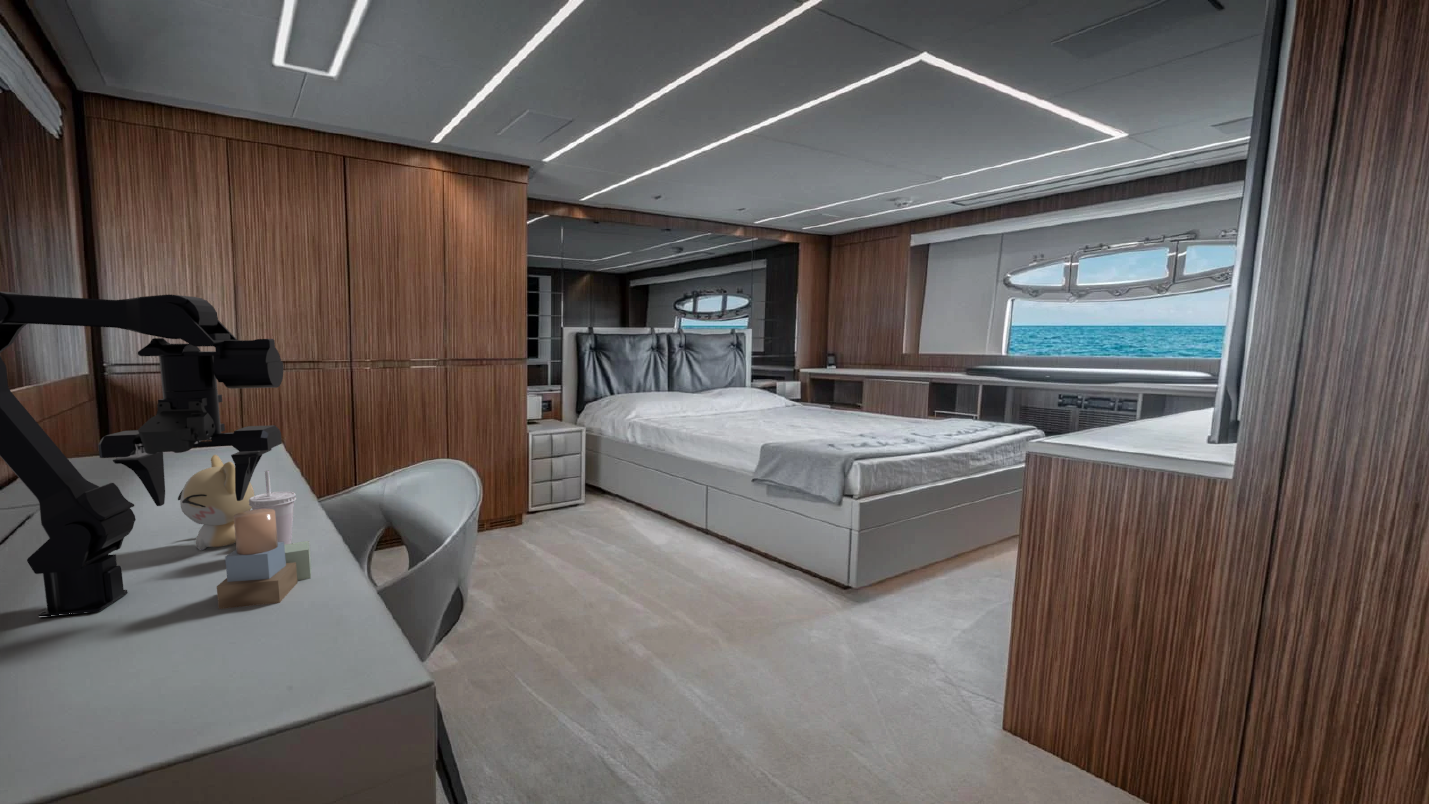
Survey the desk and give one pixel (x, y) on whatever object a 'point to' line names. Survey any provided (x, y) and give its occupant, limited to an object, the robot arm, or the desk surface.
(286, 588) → the tower base
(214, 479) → the kitten
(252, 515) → the clay cylinder
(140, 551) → the desk surface
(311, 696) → the desk surface
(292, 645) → the desk surface
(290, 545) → the block
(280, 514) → the smoothie
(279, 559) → the tower mid
